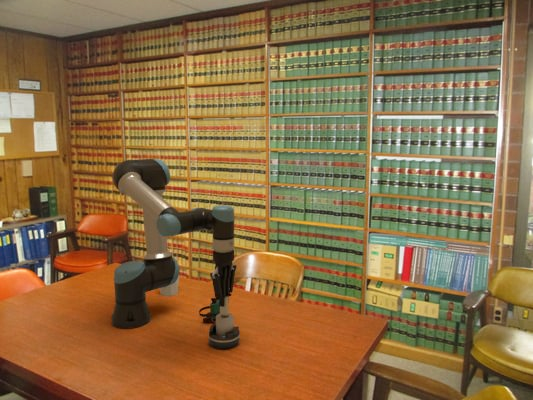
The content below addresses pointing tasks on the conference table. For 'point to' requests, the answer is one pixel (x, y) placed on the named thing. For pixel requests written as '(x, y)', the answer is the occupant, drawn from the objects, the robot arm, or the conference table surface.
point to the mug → (170, 289)
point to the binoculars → (211, 310)
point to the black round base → (224, 339)
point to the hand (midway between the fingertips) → (224, 313)
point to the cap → (224, 324)
